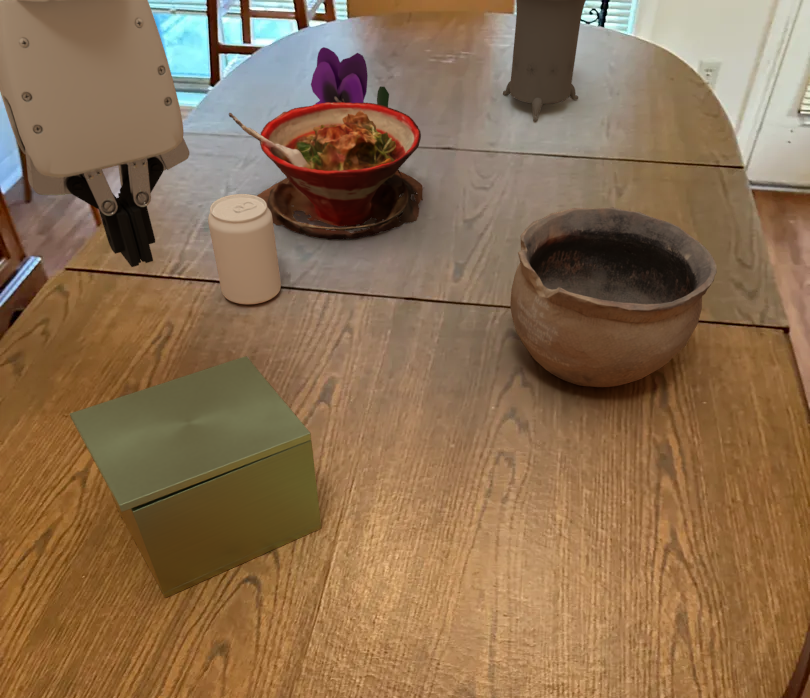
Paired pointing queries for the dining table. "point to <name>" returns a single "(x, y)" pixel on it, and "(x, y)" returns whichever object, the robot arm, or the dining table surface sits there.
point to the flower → (342, 79)
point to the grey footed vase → (544, 51)
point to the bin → (226, 519)
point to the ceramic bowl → (607, 293)
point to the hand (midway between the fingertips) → (135, 255)
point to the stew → (341, 168)
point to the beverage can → (244, 248)
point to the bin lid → (186, 431)
